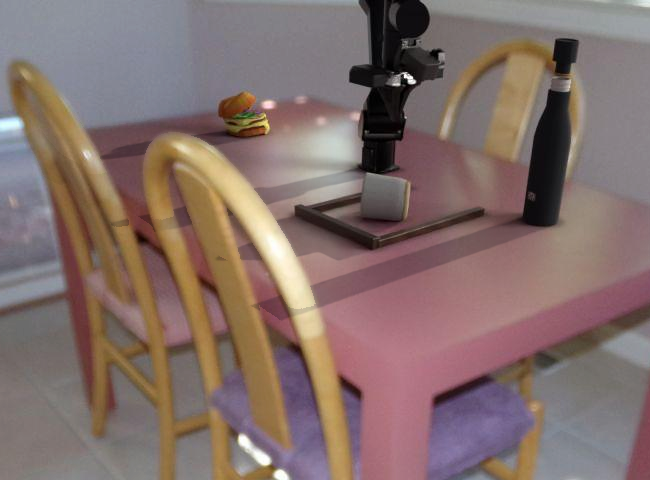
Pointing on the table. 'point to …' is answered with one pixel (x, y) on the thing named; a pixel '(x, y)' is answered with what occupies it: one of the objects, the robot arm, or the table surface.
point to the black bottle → (551, 143)
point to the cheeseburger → (242, 116)
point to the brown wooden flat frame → (368, 239)
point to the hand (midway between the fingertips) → (395, 121)
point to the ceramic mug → (384, 197)
